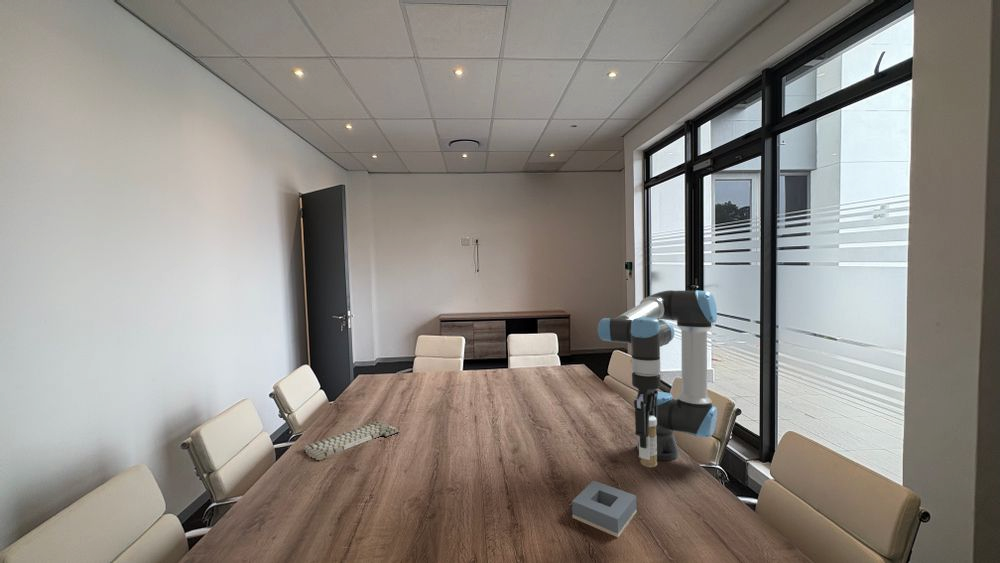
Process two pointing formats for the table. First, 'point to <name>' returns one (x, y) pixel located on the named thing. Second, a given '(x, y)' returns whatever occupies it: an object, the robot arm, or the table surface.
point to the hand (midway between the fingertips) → (647, 454)
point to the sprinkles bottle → (651, 443)
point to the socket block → (604, 508)
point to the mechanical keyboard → (350, 439)
